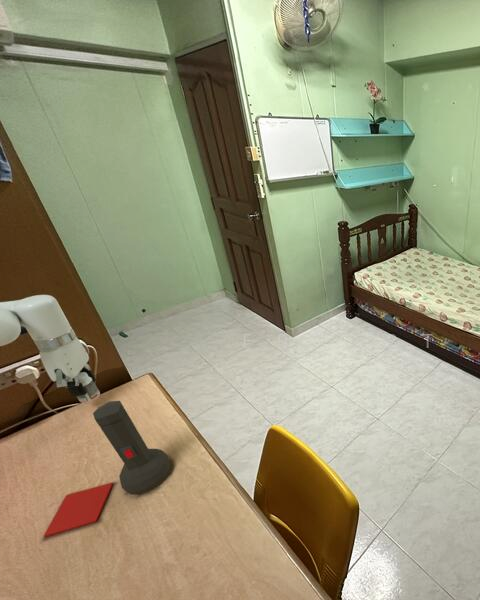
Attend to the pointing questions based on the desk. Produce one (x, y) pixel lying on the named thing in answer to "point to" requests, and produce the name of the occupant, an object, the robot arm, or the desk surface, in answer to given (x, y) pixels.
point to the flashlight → (132, 450)
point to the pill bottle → (87, 388)
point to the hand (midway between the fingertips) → (84, 388)
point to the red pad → (79, 509)
